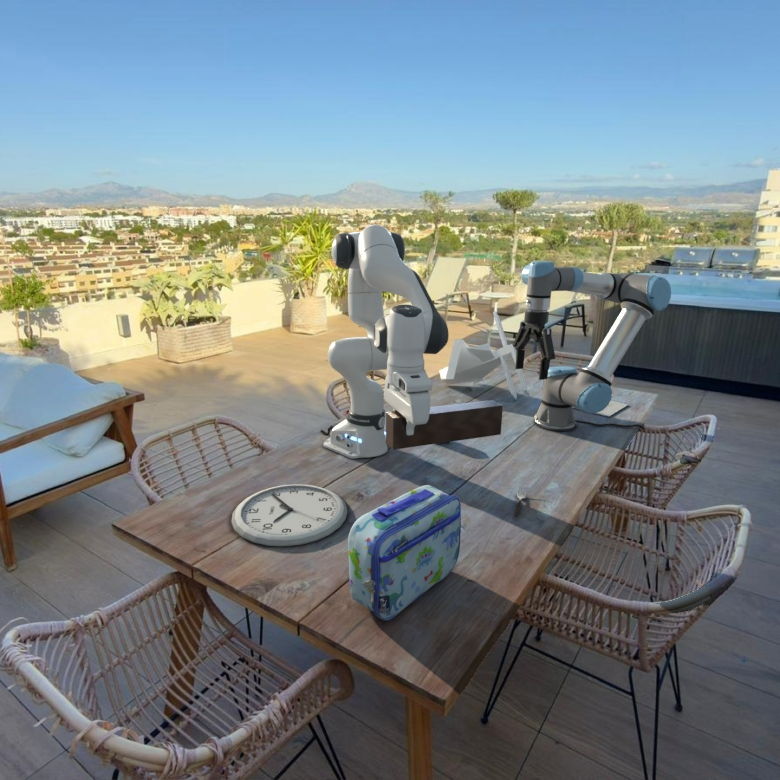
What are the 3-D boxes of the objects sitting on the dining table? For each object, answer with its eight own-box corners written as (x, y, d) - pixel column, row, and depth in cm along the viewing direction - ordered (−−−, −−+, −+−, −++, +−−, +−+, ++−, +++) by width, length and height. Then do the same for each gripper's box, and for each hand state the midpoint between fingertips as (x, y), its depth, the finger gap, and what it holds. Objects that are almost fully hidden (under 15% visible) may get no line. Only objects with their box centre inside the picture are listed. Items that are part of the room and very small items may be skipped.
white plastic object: (461, 429, 252) (437, 405, 227) (444, 352, 274) (420, 323, 250) (535, 404, 240) (518, 377, 215) (510, 326, 262) (492, 293, 237)
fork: (510, 517, 138) (511, 510, 137) (518, 490, 152) (518, 484, 152) (520, 519, 137) (521, 512, 137) (527, 491, 152) (528, 485, 151)
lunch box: (378, 635, 98) (379, 537, 91) (341, 606, 105) (340, 513, 99) (464, 574, 115) (470, 488, 109) (427, 553, 122) (431, 471, 116)
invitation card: (608, 416, 214) (573, 407, 224) (608, 416, 214) (573, 408, 224) (628, 404, 229) (594, 396, 238) (628, 405, 229) (594, 397, 238)
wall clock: (347, 538, 125) (219, 542, 122) (347, 544, 125) (219, 548, 123) (347, 480, 153) (242, 482, 151) (347, 485, 154) (243, 487, 151)
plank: (490, 428, 140) (492, 399, 138) (500, 434, 136) (503, 405, 133) (385, 442, 130) (386, 411, 128) (392, 449, 125) (393, 418, 123)
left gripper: (378, 365, 132) (377, 417, 136) (409, 387, 114) (408, 446, 118) (401, 364, 134) (400, 414, 138) (435, 385, 116) (433, 443, 120)
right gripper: (506, 305, 179) (501, 365, 185) (551, 317, 156) (543, 384, 163) (524, 304, 181) (519, 363, 188) (571, 316, 159) (563, 382, 165)
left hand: (404, 429), depth 128 cm, fingers closed on plank, 5 cm apart
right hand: (530, 373), depth 175 cm, fingers open, 13 cm apart
